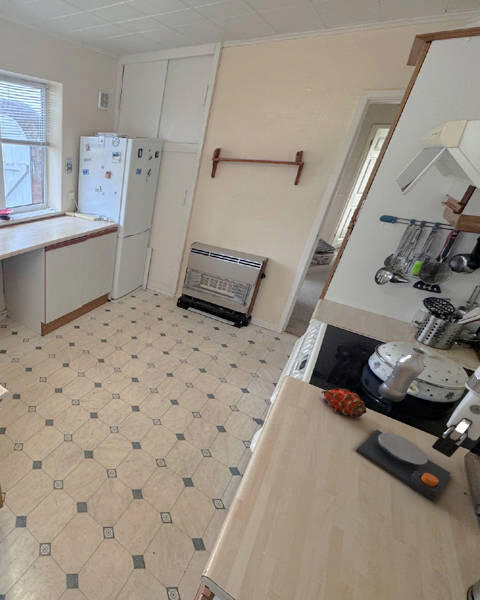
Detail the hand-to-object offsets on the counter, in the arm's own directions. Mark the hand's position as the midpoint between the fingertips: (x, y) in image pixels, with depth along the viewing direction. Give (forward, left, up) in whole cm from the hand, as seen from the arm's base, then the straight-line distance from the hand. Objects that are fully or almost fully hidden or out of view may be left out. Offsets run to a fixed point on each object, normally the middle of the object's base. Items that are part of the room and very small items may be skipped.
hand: (446, 443), depth 77 cm
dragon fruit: (+22, -11, -14) cm, 28 cm away
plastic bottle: (+16, -35, -14) cm, 41 cm away
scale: (+4, -3, -14) cm, 15 cm away
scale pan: (+5, -4, -11) cm, 13 cm away
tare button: (-2, +2, -11) cm, 11 cm away
